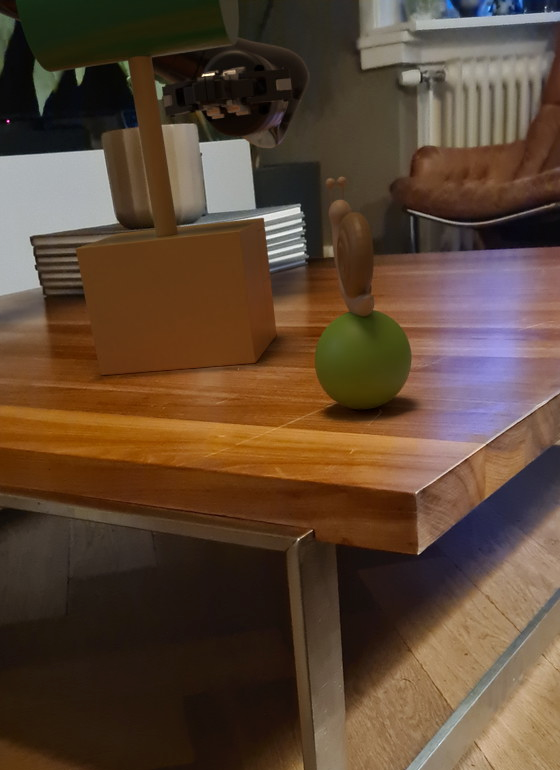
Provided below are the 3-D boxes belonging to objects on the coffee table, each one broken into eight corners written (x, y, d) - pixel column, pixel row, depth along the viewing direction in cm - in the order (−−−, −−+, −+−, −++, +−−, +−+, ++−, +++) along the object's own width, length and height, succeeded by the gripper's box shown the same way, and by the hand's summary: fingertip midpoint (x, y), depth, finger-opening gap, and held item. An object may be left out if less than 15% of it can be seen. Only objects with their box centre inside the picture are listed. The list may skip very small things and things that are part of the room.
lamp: (261, 364, 66) (206, -99, 54) (92, 377, 69) (2, -62, 56) (282, 335, 75) (240, -67, 63) (132, 347, 78) (63, -37, 65)
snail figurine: (394, 386, 56) (382, 171, 51) (425, 411, 51) (416, 171, 45) (307, 400, 56) (286, 183, 50) (330, 426, 50) (309, 185, 45)
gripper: (311, 127, 94) (286, 130, 79) (187, 144, 97) (140, 149, 82) (303, 42, 91) (276, 27, 76) (175, 61, 93) (124, 50, 78)
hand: (206, 90), depth 79 cm, fingers closed
